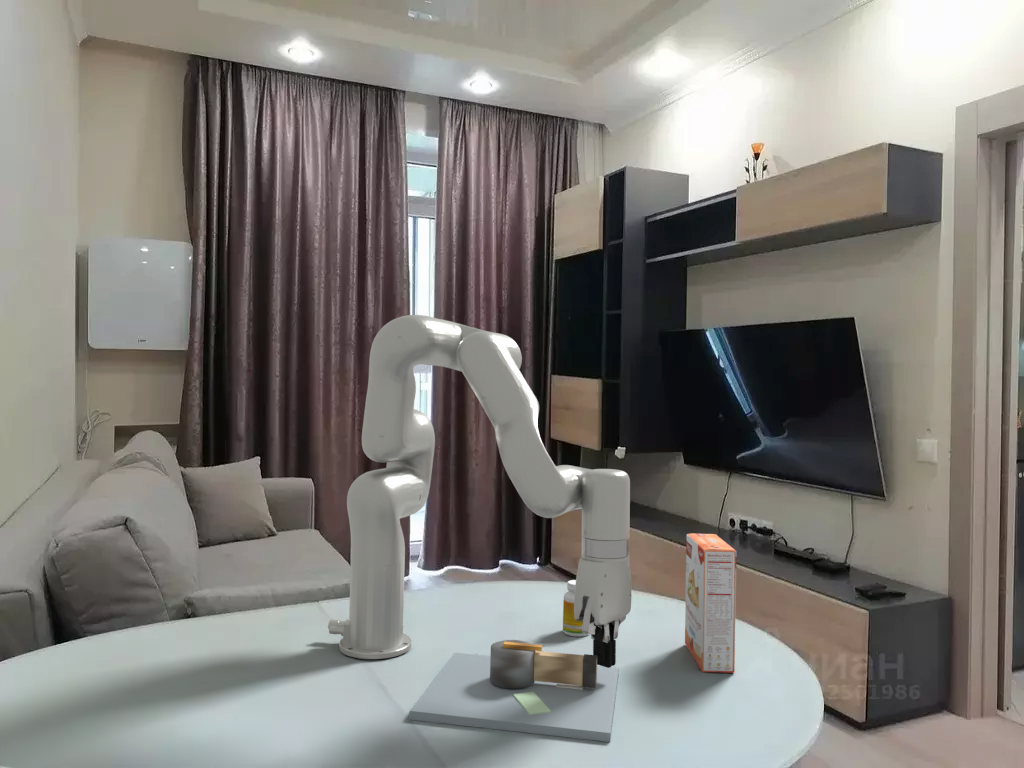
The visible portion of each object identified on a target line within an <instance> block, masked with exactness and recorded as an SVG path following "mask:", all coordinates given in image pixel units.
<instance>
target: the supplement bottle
mask: <svg viewBox="0 0 1024 768" xmlns="http://www.w3.org/2000/svg"><path fill="white" fill-rule="evenodd" d="M575 586H576V579H571V580H568V581H567V587H566V588H567V590H568V591H567V592H565V593H564V595H563V601H562V602H563V609H562V633H564V634H565V635H566V636H571V637H574V638H575V637H578V638H579V637H586V636H589V635H590V634H586V633H583V632H582V626H583V621H577V620H575V618H574V599H575Z"/></svg>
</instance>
